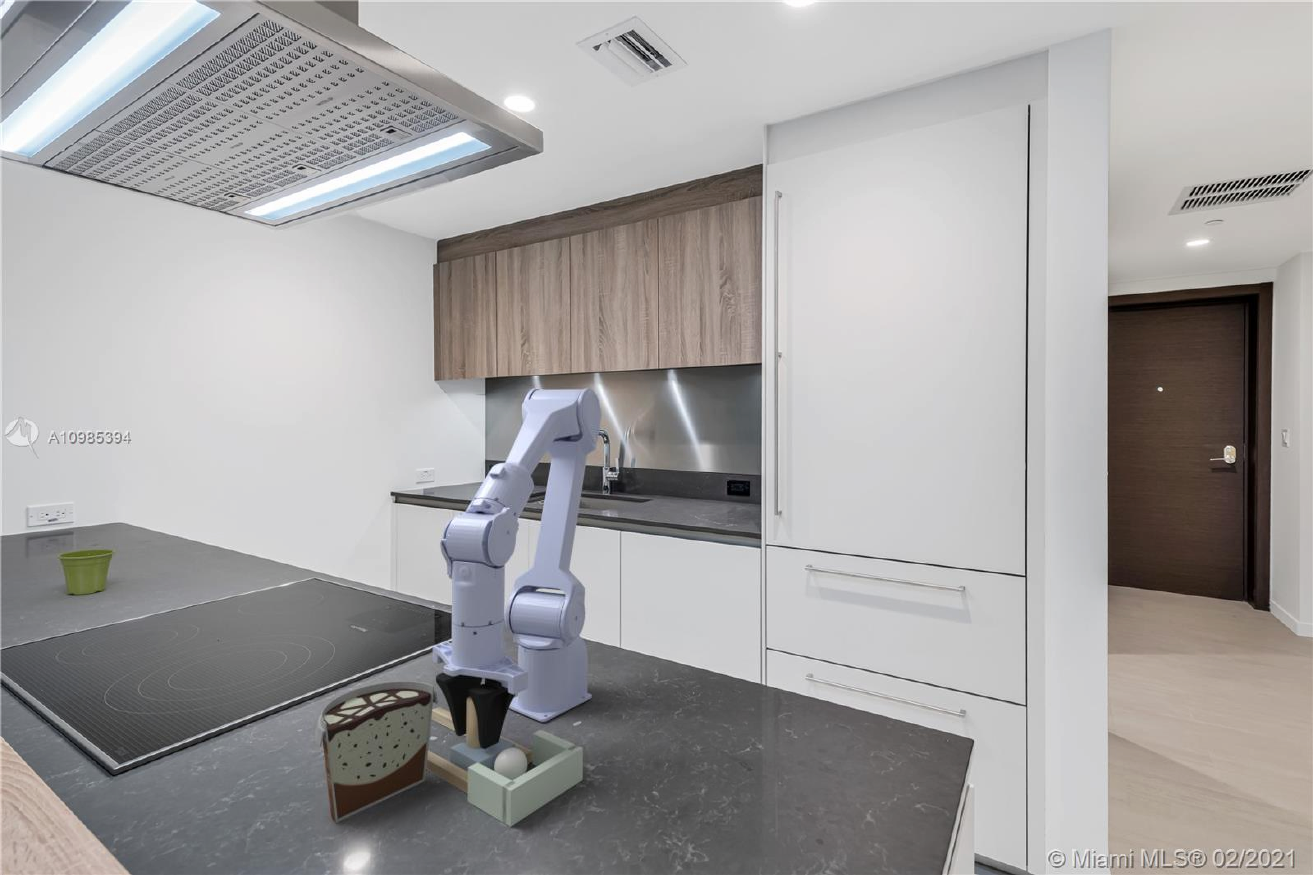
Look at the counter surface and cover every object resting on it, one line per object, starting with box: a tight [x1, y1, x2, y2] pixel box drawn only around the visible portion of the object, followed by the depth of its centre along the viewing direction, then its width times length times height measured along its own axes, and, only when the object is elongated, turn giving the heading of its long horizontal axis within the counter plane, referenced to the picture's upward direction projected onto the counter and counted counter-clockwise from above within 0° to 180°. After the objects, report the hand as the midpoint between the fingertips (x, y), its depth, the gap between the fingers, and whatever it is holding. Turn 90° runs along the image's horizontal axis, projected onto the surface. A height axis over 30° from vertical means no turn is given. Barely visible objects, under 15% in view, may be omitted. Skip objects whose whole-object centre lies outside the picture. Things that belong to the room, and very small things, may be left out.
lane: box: [426, 706, 533, 795], centre depth 73 cm, size 8×18×1 cm, turn 54°
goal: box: [467, 729, 584, 828], centre depth 65 cm, size 10×7×4 cm, turn 143°
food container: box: [314, 680, 439, 824], centre depth 65 cm, size 12×6×10 cm, turn 141°
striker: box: [449, 696, 515, 772], centre depth 70 cm, size 5×5×8 cm
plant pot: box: [57, 548, 116, 596], centre depth 138 cm, size 9×9×9 cm
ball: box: [494, 748, 528, 781], centre depth 67 cm, size 4×4×4 cm
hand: (477, 738), depth 70 cm, fingers open, 4 cm apart
